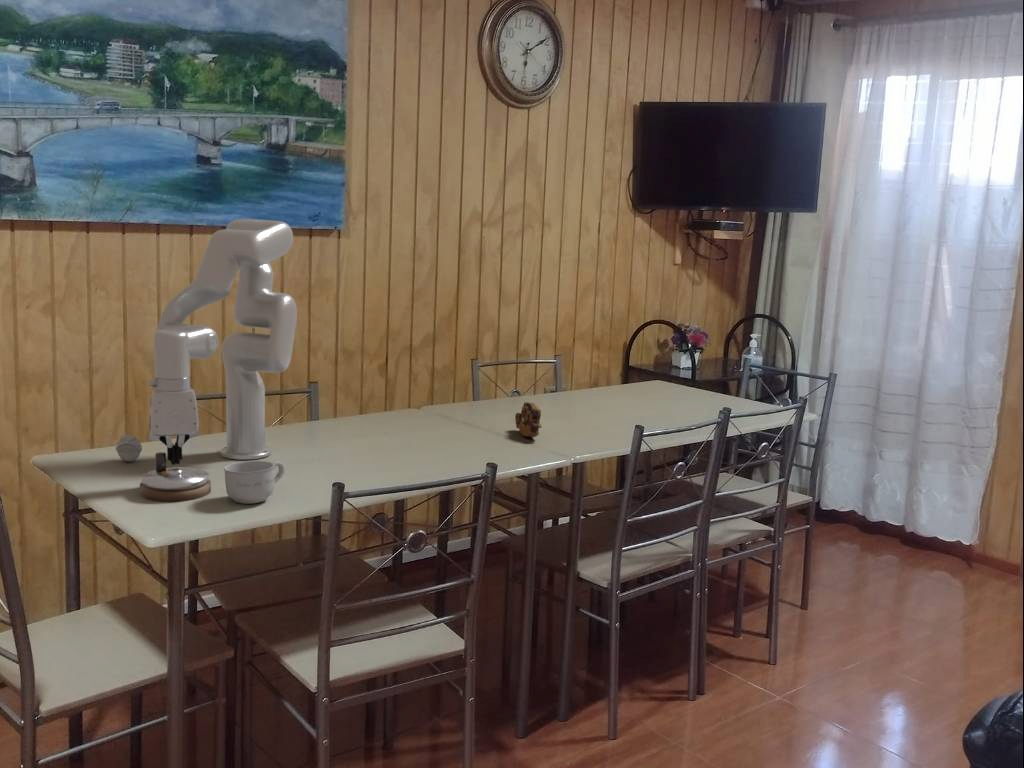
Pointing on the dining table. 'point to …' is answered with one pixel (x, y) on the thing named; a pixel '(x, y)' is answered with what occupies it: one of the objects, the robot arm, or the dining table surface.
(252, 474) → the teacup
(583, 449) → the dining table surface
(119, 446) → the grey lumpy ball
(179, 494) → the plinth
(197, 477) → the handwheel
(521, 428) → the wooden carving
